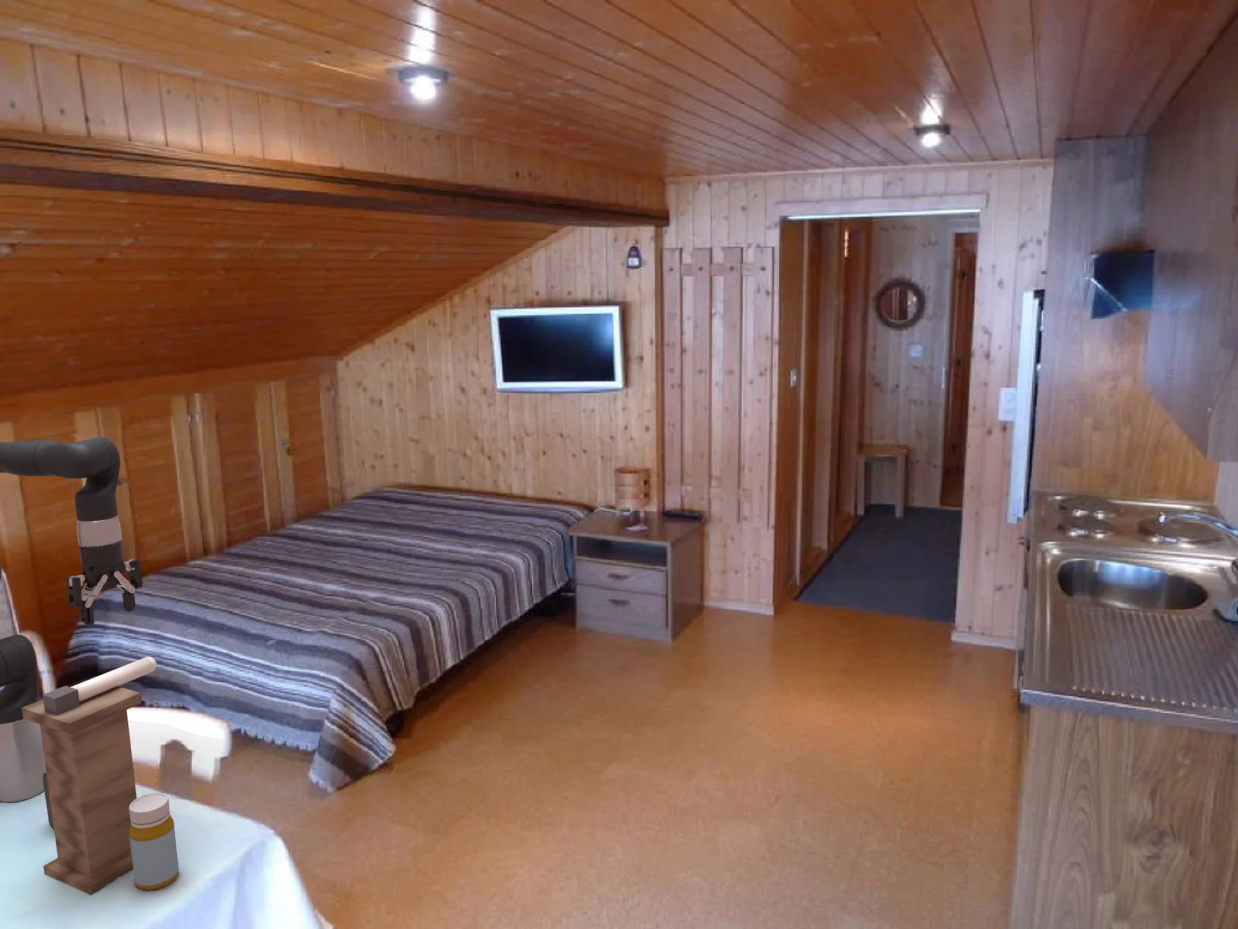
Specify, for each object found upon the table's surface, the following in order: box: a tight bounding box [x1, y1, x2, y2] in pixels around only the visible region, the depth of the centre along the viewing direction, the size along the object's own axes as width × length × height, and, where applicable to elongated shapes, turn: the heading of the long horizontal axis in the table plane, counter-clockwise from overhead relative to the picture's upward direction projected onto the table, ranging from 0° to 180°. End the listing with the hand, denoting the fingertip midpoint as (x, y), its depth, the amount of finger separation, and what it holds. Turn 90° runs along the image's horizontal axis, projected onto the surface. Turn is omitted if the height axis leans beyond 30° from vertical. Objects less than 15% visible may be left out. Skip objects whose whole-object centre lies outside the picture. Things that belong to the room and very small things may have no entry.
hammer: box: [42, 656, 158, 715], centre depth 164 cm, size 20×3×3 cm, turn 153°
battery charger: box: [43, 773, 54, 830], centre depth 177 cm, size 7×4×11 cm, turn 48°
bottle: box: [129, 792, 180, 891], centre depth 161 cm, size 7×7×15 cm
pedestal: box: [22, 686, 142, 896], centre depth 164 cm, size 13×13×32 cm
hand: (109, 617), depth 183 cm, fingers open, 8 cm apart
